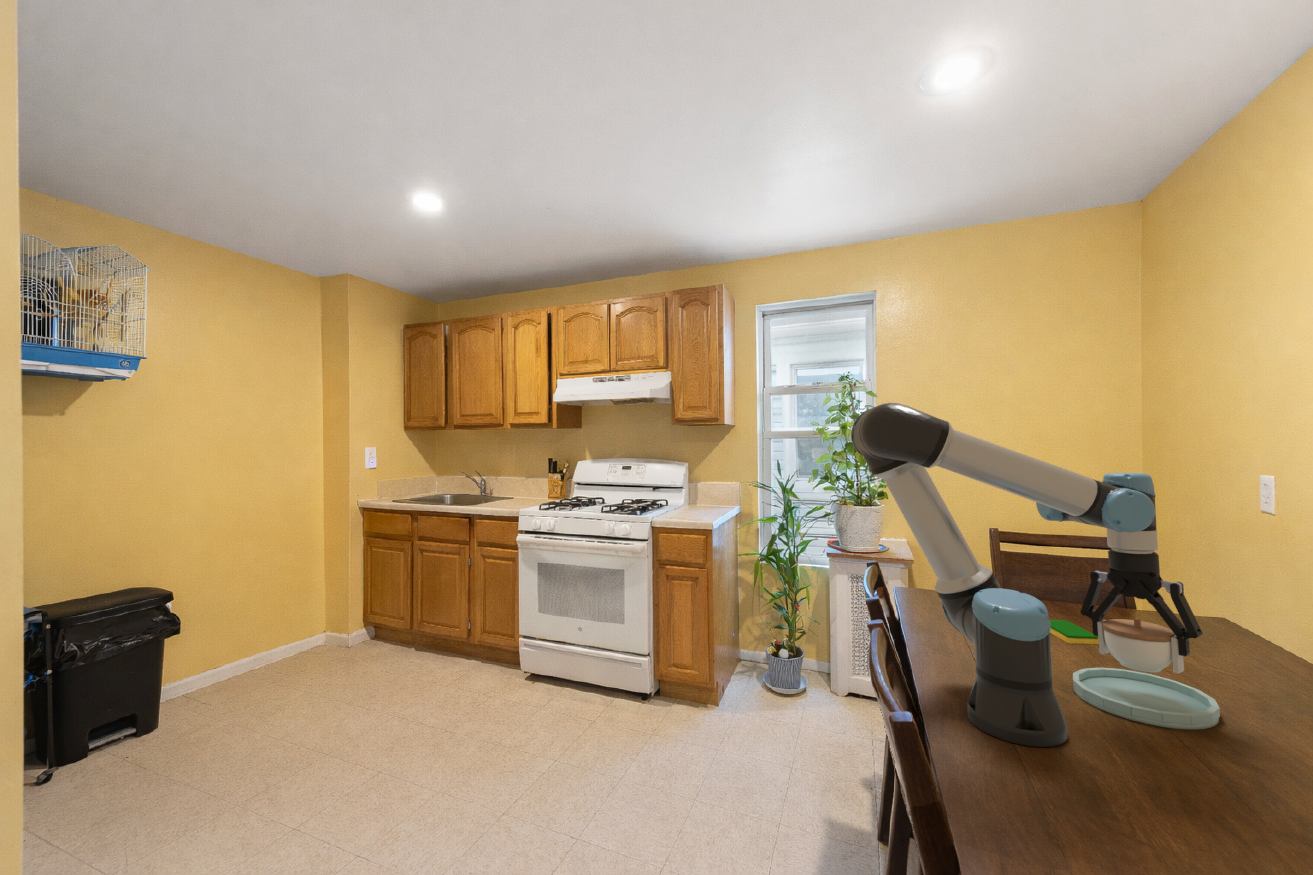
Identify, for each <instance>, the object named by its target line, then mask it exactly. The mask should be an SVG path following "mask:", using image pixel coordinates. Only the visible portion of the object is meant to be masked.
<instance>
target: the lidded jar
mask: <svg viewBox="0 0 1313 875" xmlns="http://www.w3.org/2000/svg"><path fill="white" fill-rule="evenodd" d="M1105 620H1106V621H1104V622H1103V623H1102V624H1103V629H1104V638H1105V642H1106V645H1107V648H1108V650H1109V653H1110V655H1111V656H1112V657H1113V658H1114V659H1115V660H1117V661H1118V662H1119V664H1120V665H1121V666H1122V667H1124V668H1126V669H1128V670H1131V671H1136V672H1142V673H1147V674H1158V673H1161V672H1162V670H1164V669H1165V668H1167V667H1169V665H1170V664H1171V663H1173V661H1172V647H1171V637H1173V636H1175V634H1174V633H1173V631H1172V630H1171V629H1170V627H1168V626H1167V627H1166V626H1164V625H1161V624H1157V623H1153V622H1147V621H1143V620H1142V619H1141V618H1139V617H1138V618H1136V617H1135V618H1134V617H1133V619H1124V618H1123V619H1122V618H1117V619H1116V618H1115V619H1114V618H1112V619H1105Z"/></svg>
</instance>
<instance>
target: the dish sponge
mask: <svg viewBox="0 0 1313 875" xmlns="http://www.w3.org/2000/svg"><path fill="white" fill-rule="evenodd" d="M1049 621H1050V624H1051V629H1050V634H1052V635H1054V636H1055V637H1057V638H1058V639H1059V640H1062V641H1064V642H1065V643H1067V644H1072V645H1073V644H1074V645H1075V644H1078V645H1099V641H1098V636H1095V635H1094V634H1093V632H1090V631H1088V630H1087V629H1084V628H1083V627H1080V626H1078V625H1077V624H1075V623H1073V622H1070V621H1069V620H1067V619H1065V620H1064V619H1049Z"/></svg>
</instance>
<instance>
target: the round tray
mask: <svg viewBox="0 0 1313 875" xmlns="http://www.w3.org/2000/svg"><path fill="white" fill-rule="evenodd" d="M1072 687H1073V692H1074V693H1075V694H1076V695H1077V697H1078V698H1080V699H1081V700H1083V701H1084V702H1085V703H1087V704H1089V705H1091V706H1093V707H1094V708H1097V709H1099V710H1101V711H1104V712H1106V713H1109V714H1110V715H1114V716H1117V717H1119V718H1123V719H1127V720H1130V721H1134V722H1138V723H1142V724H1146V725H1150V726H1151V725H1152V726H1155V727H1162V728H1167V729H1177V730H1190V731H1191V730H1205V729H1210V728H1214V727H1216V726H1217V725H1218V724H1219V723H1220V717H1221V709H1220V706H1219V704H1218V703H1217V701H1216V699H1215V698H1213V697H1211V696H1210V695H1208V694H1206V693H1205V692H1203V691H1202V690H1200V689H1197V688H1195V687H1193V686H1190V685H1187V684H1185V683H1182V682H1180V681H1177V680H1174V679H1170V678H1167V677H1162V676H1158V675H1156V674H1153V673H1147V672H1141V671H1136V670H1131V669H1124V668H1114V667H1112V668H1111V667H1109V668H1108V667H1089V668H1081V669H1079V670H1076V671H1074V672H1073V673H1072Z"/></svg>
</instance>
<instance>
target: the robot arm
mask: <svg viewBox="0 0 1313 875" xmlns="http://www.w3.org/2000/svg"><path fill="white" fill-rule="evenodd" d="M850 439H851V443H852V446H853V447H854V449H855V451H856V452H857V454H859V455H860V456H862V457H863V459H864V461H865V463H866V465H867V466H868V468H869V469H870V472H871V473H872V475H873V476H874V477H876V478H878V479H879V478H880V479H881V480H883V481H884V482H885V484H886V487H887V488H888V490H889V492H890V494H891V495H892V497H893V498H894V501H895V502H896V505H897V506H898V508H899V510H900V512H901V514H902V515H903V517H904V519H905V521H906V523H907V524H908V527H909V528H910V530H911V532H912V534H913V536H914V538H915V539H916V541H917V543H918V544H919V547H920V548H921V551H922V553H923V554H924V557H925V558H926V560H927V562H928V563H929V565H930V567H931V569H932V571H933V573H934V574H935V576H936V578H937V579H936V582H935V584H934V590H935V592H936V593H937V594H936V595H938V597H939V599H940V602H941V609H942V612H943V614H944V615H945V618H946V619H947V620H948V621H947V622H949V624H951V626H952V627H953V628H954V629H956V630H957V631H958V632H959V633H960V634H962V635H963V636H964V637H965V638H967V639H968V640H969V642H971V643H972V644H973V645H974V652H975V654H974V655H975V670H976V671H975V672H976V673H975V675H976V676H975V679H974V682H973V685H972V688H971V691H970V693H969V696H968V700H967V703H966V704H967V705H966V707H967V708H966V709H967V710H966V711H967V718H968V720H969V721H970V723H971V724H972V725H974V726H975V727H976V728H977V729H979V730H980V731H981V732H984V733H986V734H988V735H990V736H993V737H994V738H998V739H999V740H1003V741H1006V742H1009V743H1014V744H1016V745H1023V746H1030V747H1038V748H1039V747H1040V748H1046V747H1047V748H1049V747H1050V748H1051V747H1057V746H1060V745H1062V744H1064V743H1066V741H1067V740H1068V725H1067V721H1066V718H1065V717H1064V714H1063V712H1062V710H1061V706H1060V704H1059V701H1058V699H1057V697H1056V694H1055V691H1054V689H1053V672H1052V669H1053V668H1052V649H1051V648H1052V647H1051V644H1052V643H1051V633H1050V629H1051V624H1050V621H1049V620H1050V617H1049V612H1048V608H1047V606H1046V605H1045V604H1044V603H1043V601H1042V600H1039V599H1038V598H1037V597H1035V596H1033V595H1031V594H1028V593H1024V592H1020V591H1018V590H1015V589H1008V588H1002V587H1001V585H1000V583H999V581H998V580H997V578H996V576H995V574H994V572H993V571H992V569H991V568H990V567H987V566H984V565H981V564H979V562H978V560H977V558H976V557H975V555H974V553H973V551H972V550H971V548H970V546H969V544H968V542H967V540H966V538H965V537H964V535H963V533H962V532H961V530H960V528H959V525H958V524H957V522H956V520H955V519H954V517H953V515H952V513H951V511H950V510H949V508H948V506H947V504H946V503H945V500H944V498H943V497H942V496H941V494H940V491H939V490H938V488H937V486H936V485H935V483H934V481H933V479H932V477H931V475H930V473H929V472H928V471H927V469H931V468H933V467H939V468H942V469H945V470H947V471H950V472H951V473H952V472H953V473H955V474H958V475H960V476H964V477H966V478H968V479H972V480H975V481H978V482H980V483H983V484H986V485H988V486H991V487H994V488H996V489H999V490H1002V491H1004V492H1007V493H1011V494H1013V495H1016V496H1018V497H1022V498H1024V499H1027V500H1029V501H1031V502H1034V503H1036V504H1035V506H1036V509H1037V512H1038V514H1039V515H1040V516H1041V518H1043V519H1044V520H1046V521H1050V522H1059V523H1060V522H1061V523H1062V522H1074V523H1075V522H1076V523H1081V524H1084V525H1089V526H1095V527H1101V528H1104V529H1106V539H1107V541H1106V542H1107V547H1108V548H1110V549H1109V550H1108V551H1107V553H1108V554H1107V557H1108V569H1109V570H1108V572H1105V571H1101V570H1098V569H1097V570H1095V571H1091V572H1090V584H1089V587H1088V590H1087V592H1086V595H1085V598H1084V601H1083V604H1082V607H1081V608H1080V614H1081V615H1082V616H1085V617H1087V618H1089V619H1090V620H1091V624H1092V627H1091V628H1092V634H1094V635H1095V636H1098V638H1097V639H1098V652H1099V655H1103V656H1104V655H1107V654H1108V653H1110V652H1109V650H1108V648H1107V645H1106V642H1105V638H1104V629H1103V624H1102V623H1103V622H1104V621H1106V620H1107V619H1104V618H1105V616H1106V615H1107V613H1109V611H1110V610H1111V609H1112V607H1113V606H1115V605H1116V603H1117V602H1118V600H1119V599H1120V598H1121V597H1122V596H1123V597H1126V598H1127V597H1128V598H1131V597H1133V598H1135V599H1138V600H1146V601H1147V602H1148V604H1150V605H1151V606H1152V607H1153V608H1154V610H1155V611H1156V612H1157V613H1158V615H1159V616H1160V617H1161V618H1162V620H1163V621H1164V623H1165V624H1166V625H1167V627H1168V628H1169V629H1171V630H1172V631H1173V633H1174V634H1175V636H1173V637H1171V647H1172V671H1173V672H1172V673H1173V674H1177V675H1179V674H1181V673H1183V672H1185V663H1184V662H1185V661H1184V657H1187V656H1190V652H1191V651H1190V650H1191V648H1190V639H1197V638H1199V637H1201V636H1203V631H1202V629H1201V627H1200V624H1199V622H1198V620H1197V618H1196V617H1195V614H1194V612H1193V610H1192V609H1191V606H1190V604H1189V602H1188V600H1187V598H1186V596H1185V594H1184V593H1185V592H1184V584H1183V583H1182V582H1181V581H1176V582H1174V581H1167V580H1164V579H1163V578H1162V577H1161V573H1160V571H1161V569H1160V559H1159V558H1160V556H1159V554H1158V553H1157V552H1156V551H1157V550H1159V545H1158V530H1157V515H1156V514H1157V513H1156V493H1155V486H1154V482H1153V477H1152V476H1151V475H1149V474H1147V473H1144V472H1112V473H1111V472H1110V473H1105V474H1104V475H1103V478H1102V480H1101V481H1100V480H1096V479H1093V478H1091V477H1090V476H1086V475H1083V474H1081V473H1078V472H1075V471H1072V470H1069V469H1066V468H1063V467H1060V466H1058V465H1055V464H1051V463H1050V462H1046V461H1044V460H1041V459H1039V458H1035V457H1033V456H1030V455H1026V454H1023V453H1021V452H1019V451H1014V450H1012V449H1009V448H1007V447H1004V446H1001V445H998V444H995V443H993V442H990V441H988V440H984V439H982V438H979V437H976V436H973V435H970V434H967V433H964V432H961V431H958V430H956V429H954V428H953V426H952V424H951V422H949V421H947V420H944V419H941V418H939V417H936V416H934V415H931V414H929V413H926V412H923V411H921V410H918V409H916V408H914V407H911V406H908V405H906V404H902V403H898V402H885V403H882V404H878V405H877V406H874V407H871V408H868V409H866V410H865V411H863V412H862V413H860V415H858V416H857V418H856V419H855V420H854V422H853V424H852V427H851V431H850ZM1107 580H1108V581H1109V583H1111V585H1113V588H1112V589H1111V590H1110V591H1109V593H1108V595H1107V596H1106V597H1105V598H1104V600H1103V601H1102V602H1101V603H1100V604H1099V606H1098V607H1097V608H1096V609H1095V606H1096V604H1097V601H1098V598H1099V596H1100V593H1101V590H1102V588H1103V585H1104V583H1105V582H1107ZM1161 588H1164V589H1165V590H1166V593H1168V594H1169V596H1170V598H1171V600H1172V603H1173V605H1174V607H1175V609H1176V611H1177V613H1178V615H1179V617H1180V619H1181V620H1180V619H1179V618H1178V617H1177V615H1176V614H1175V613H1174V612H1173V611H1172V609H1171V608H1170V607H1169V605H1168V604H1167V603H1166V602H1165V599H1164V597H1163V596H1162V595H1161V594H1160V593H1159V590H1160V589H1161ZM1094 609H1095V610H1094ZM1181 621H1182V622H1181ZM1182 623H1183V624H1182Z"/></svg>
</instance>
